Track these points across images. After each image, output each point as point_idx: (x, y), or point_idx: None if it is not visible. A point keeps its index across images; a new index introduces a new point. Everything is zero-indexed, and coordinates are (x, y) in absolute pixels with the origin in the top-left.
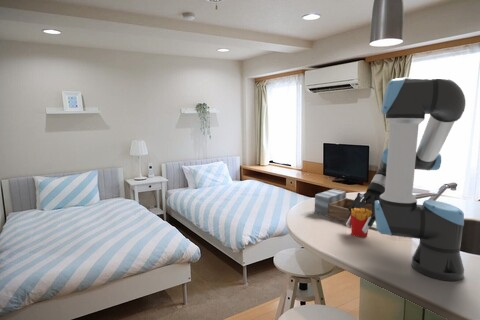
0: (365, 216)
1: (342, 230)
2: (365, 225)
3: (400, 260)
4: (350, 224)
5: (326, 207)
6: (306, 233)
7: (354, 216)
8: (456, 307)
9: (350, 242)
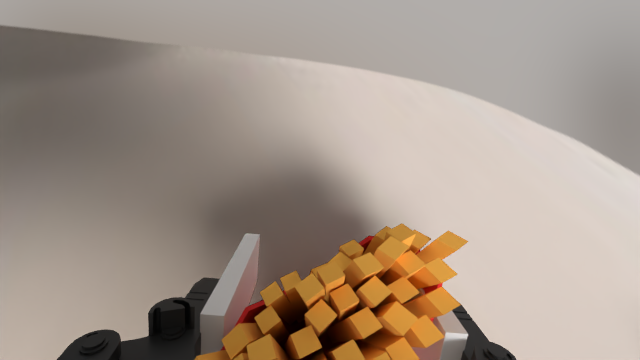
0: (263, 295)
1: None
2: (240, 254)
3: (13, 179)
4: None
5: None
6: (491, 136)
7: (371, 246)
8: None
9: (296, 190)
